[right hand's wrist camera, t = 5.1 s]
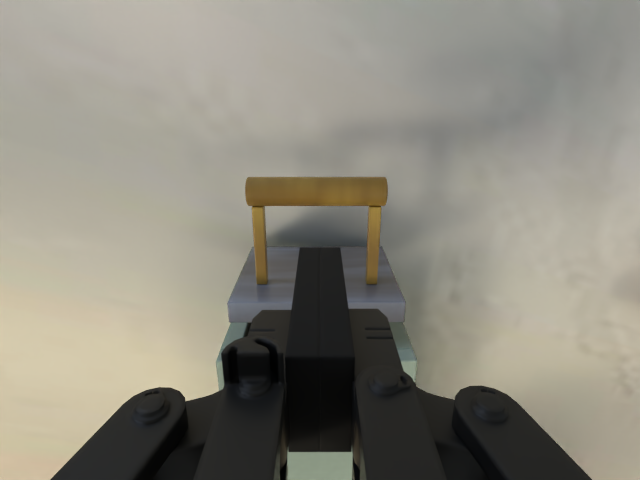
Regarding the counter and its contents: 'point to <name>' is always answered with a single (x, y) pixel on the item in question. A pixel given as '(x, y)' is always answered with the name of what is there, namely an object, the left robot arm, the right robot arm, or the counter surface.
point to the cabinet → (324, 467)
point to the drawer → (281, 262)
